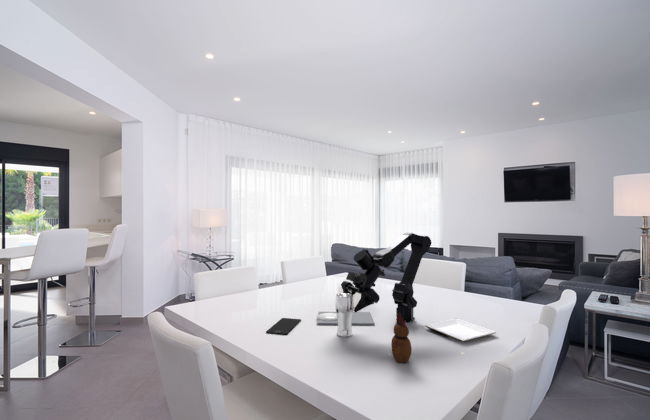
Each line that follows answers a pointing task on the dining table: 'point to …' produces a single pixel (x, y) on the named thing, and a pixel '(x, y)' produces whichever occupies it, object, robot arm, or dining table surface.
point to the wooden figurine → (401, 341)
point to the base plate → (357, 318)
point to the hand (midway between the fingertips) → (347, 308)
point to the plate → (460, 329)
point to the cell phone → (283, 326)
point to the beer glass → (344, 314)
